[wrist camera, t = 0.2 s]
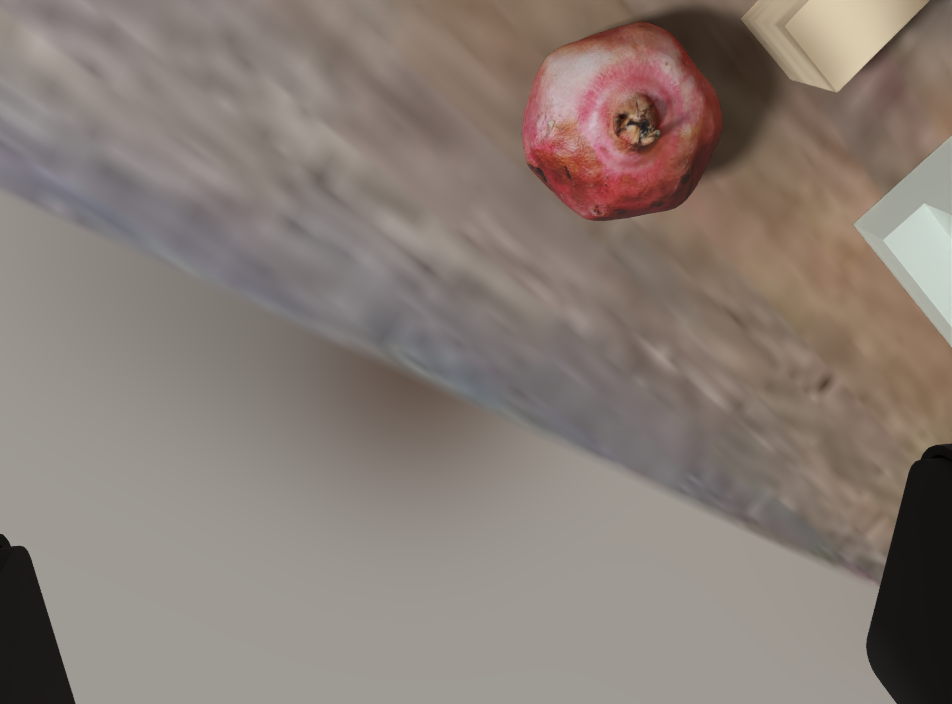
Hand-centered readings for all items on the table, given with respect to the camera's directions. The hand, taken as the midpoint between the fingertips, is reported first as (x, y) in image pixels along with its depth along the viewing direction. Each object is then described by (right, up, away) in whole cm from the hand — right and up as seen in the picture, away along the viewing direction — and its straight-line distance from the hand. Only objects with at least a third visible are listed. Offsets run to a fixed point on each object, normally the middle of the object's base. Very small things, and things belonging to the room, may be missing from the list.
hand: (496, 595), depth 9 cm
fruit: (+6, +15, +35) cm, 38 cm away
